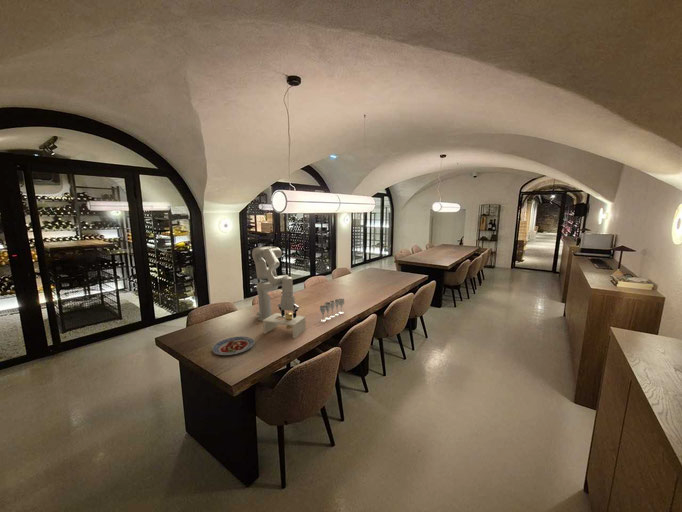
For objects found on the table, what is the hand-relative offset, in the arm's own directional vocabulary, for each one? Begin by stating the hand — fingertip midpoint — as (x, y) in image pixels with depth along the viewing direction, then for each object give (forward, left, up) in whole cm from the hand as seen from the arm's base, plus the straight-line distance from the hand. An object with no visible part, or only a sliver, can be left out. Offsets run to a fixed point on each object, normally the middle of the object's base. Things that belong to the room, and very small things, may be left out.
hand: (288, 316), depth 207 cm
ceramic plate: (-22, -33, -12) cm, 41 cm away
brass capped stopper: (0, 0, -8) cm, 8 cm away
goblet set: (+18, +40, -12) cm, 45 cm away
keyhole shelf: (-4, 0, -12) cm, 12 cm away
